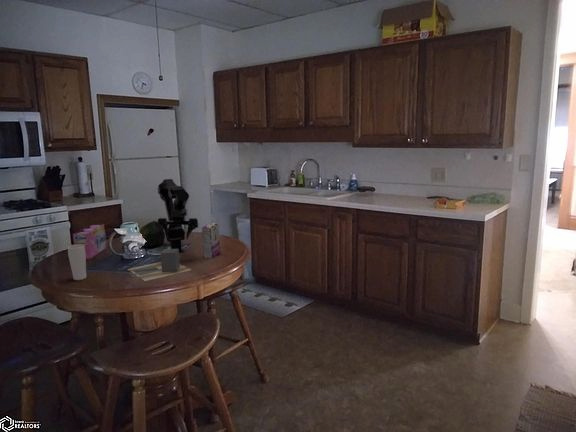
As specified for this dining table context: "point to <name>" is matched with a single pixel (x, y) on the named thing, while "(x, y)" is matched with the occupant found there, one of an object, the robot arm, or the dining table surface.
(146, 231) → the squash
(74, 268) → the drinking glass
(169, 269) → the charcoal cover
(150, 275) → the birch board
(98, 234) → the gum box
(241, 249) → the dining table surface
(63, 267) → the dining table surface
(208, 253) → the candy bar box
